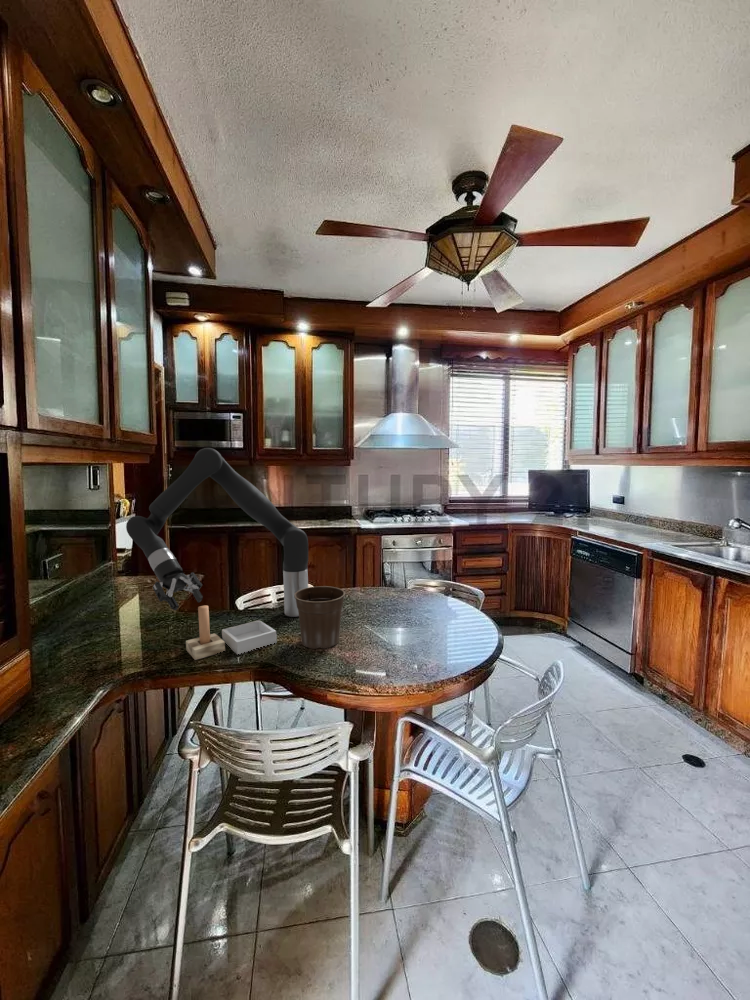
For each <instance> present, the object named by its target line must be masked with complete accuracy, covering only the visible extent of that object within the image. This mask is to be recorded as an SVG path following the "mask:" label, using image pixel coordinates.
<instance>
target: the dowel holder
mask: <svg viewBox="0 0 750 1000" xmlns="http://www.w3.org/2000/svg"><path fill="white" fill-rule="evenodd" d="M185 651H187V653H188V654H189V655H190V656H191V657H192V659H194V661H197V660H200V659H203V658H208V657H210V656H214V655H217V653H218V654H220V652H221V653H224V652H223V651H225V652H226V644H225V642H224V641H223V640H222V638H221V637H220V636H219V635H218V634H216V633H210V643H207V644H203V645H200V636H199V637H195V638H190V639H188V640H185Z"/></svg>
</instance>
